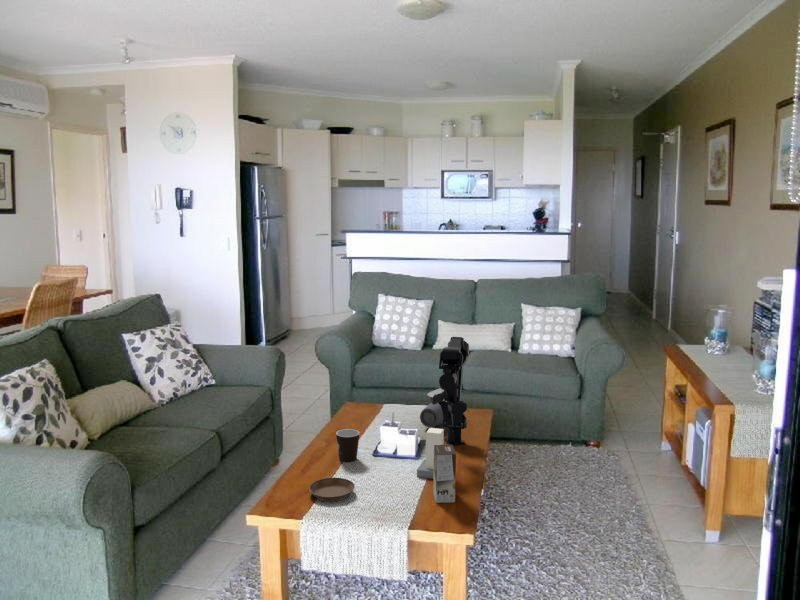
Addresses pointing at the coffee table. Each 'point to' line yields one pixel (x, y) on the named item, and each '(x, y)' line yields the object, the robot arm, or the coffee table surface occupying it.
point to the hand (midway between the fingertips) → (449, 423)
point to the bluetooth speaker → (431, 415)
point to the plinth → (425, 471)
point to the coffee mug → (347, 444)
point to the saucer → (331, 488)
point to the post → (433, 438)
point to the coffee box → (444, 473)
